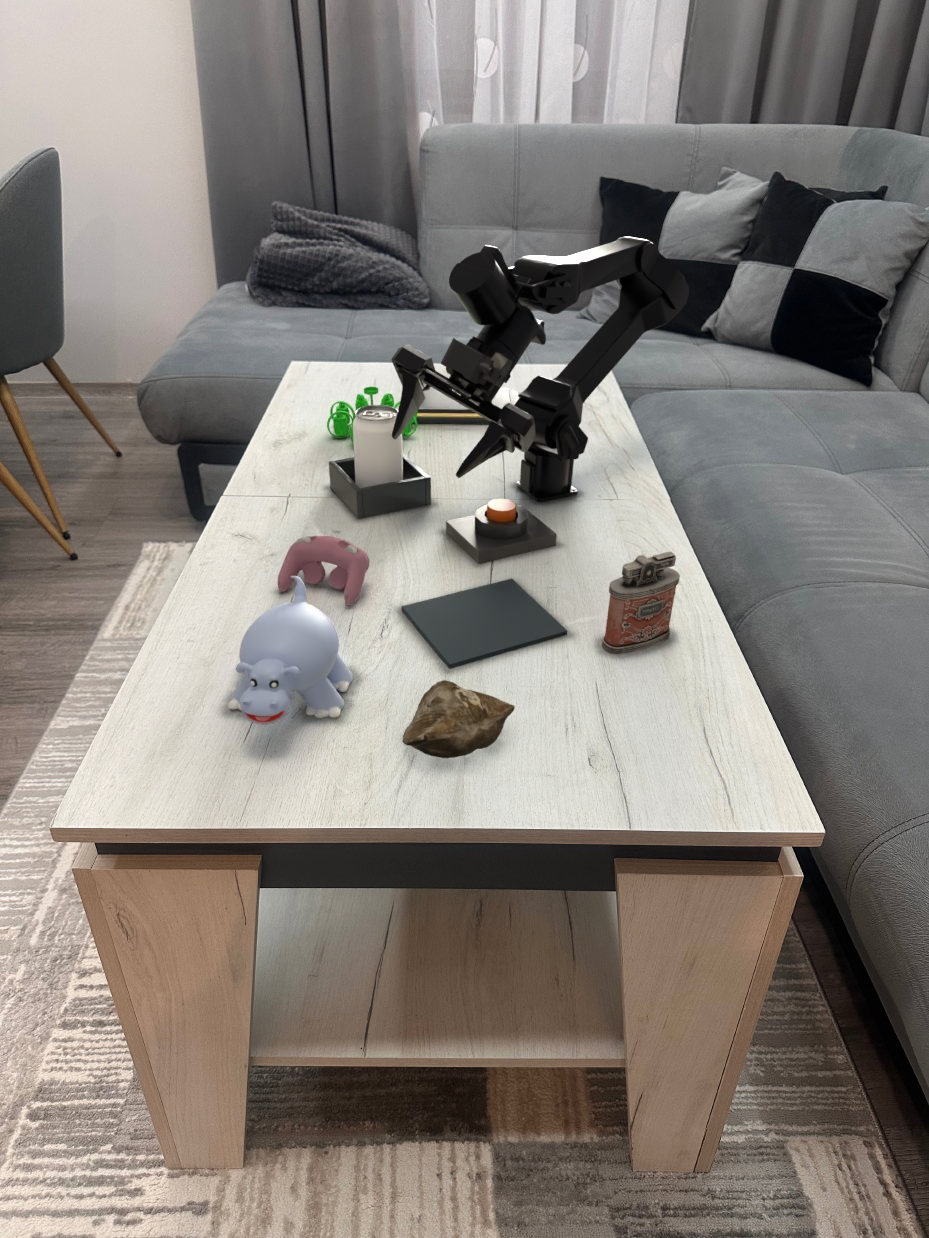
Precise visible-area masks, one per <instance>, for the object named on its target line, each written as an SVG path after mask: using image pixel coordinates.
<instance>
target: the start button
mask: <svg viewBox="0 0 929 1238" xmlns="http://www.w3.org/2000/svg"><path fill="white" fill-rule="evenodd" d="M486 505H487V518H488V519H490V520H493V521H496V522H508V521H512V520H515V518H516V506H517V503H516V502H515V501H513V500H511V499H508V498H493V499H490V500H489V501H488V502H487V504H486Z"/></svg>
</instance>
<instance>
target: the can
mask: <svg viewBox="0 0 929 1238" xmlns="http://www.w3.org/2000/svg"><path fill="white" fill-rule="evenodd" d="M354 412H355V415H356V417H355V419H354V421H353V443H354V444H353V443H352V444H353V457H354V463H355V480H356V485H357V486H358V487H359V488H364V487H369V486H374V485H380V484H385V483H390V482H395V481H401V480H403V453H404V452H403V436H402V433H401V435H400V436H399V437H398V438H397V439H396V440H395V439H393V438H392V432H393V428H394V424H395V421H396V417H397V413H398V409H397V407H396V408H394V407H391V406H386V405H380V404H373V405H371V404H369V405H368V406H364V407H361V408H359V409H357V410H356V409H355V411H354ZM402 452H403V453H402Z"/></svg>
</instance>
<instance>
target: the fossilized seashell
mask: <svg viewBox="0 0 929 1238" xmlns="http://www.w3.org/2000/svg"><path fill="white" fill-rule="evenodd" d="M515 707H516V706H515V705H514V704H510V703H509V702H507V701H504V700H502V699H500V698H498V697H495V696H493V695H490V694H487V693H483V692H480V691H476V690H471V689H467V688H463V687H461V686H460V685H458V684H457V683H455V682H453V681H450V680H445V679H444V680H443V679H442V680H440V681H437V682H436V683H435V684H433V685H431V686H430V688H429V689H428V690H427V691H426V692H424V693H423V696H422V697H421V699H420V701H419V702H418V705H417V709H416V711H415V712H414V713H415V714H414V715H413V717H412V720H411V722H409V724H408V726H407V727H406V728H405V730H404V733H403V734H402V744H404V745H405V746H410V747H412V748H414V749H415V750H417V751H418V752H421V753H422V754H425V755H427V756H430V757H435V758H439V759H440V758H441V759H454V758H458V757H459V758H460V757H465V756H467V755H470V754H472V753H474V752H475V751H477V750H484V749H487V748H489V747H490V746H491V745H493V744H494V743H495V742H496V741H497V740H498V738H499V737H500V735H501V734H502V730H503V728H504V725H505V723H506V720H507V719H508V717H509V716H511V714H512V713H514V711H515Z"/></svg>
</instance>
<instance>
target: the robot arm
mask: <svg viewBox="0 0 929 1238" xmlns="http://www.w3.org/2000/svg"><path fill="white" fill-rule="evenodd" d="M503 255H504V254H503V253H502V251H501V250H500V249H499V247H498V246H492V245H488V244H485V245H483V247H482V248H481V249H480V251H478V252H475V253H472V254H470V255H468V256H466V257H465V258H464V259H462V260H461V261H460V262H457V263H456V264H455V265H454V267H453V268H452V269H451V271H450V273H449V277H448V285H449V288H450V289H451V290H452V292H453V294H454V295H455V296H456V298H457V299H458V301H459V302H460V303H461V305H462V306H463V308H464V309H465V310H466V312H467V313H468V315H469V316H470V317H471V319H472V320H473V322H474V323H475V324H477V325H480V326H482V328H481V330H480V331H479V333H478V334H477V336H473V335H472V337H471V338H470V339H469V340H468V341H467V343H466V344H465V343H464V342H462V341H460V340H458V339H456V338H455V337H453V338H452V340H451V342H450V344H449V345H448V347H447V350H446V352H445V353H444V355H443V357H442V359H441V361H440V364H441V365H442V366H444V367H445V371H446V374H448V375H449V377H448V376H446V375H444V374H443V373H440V372H438V371H437V370H436V368H435V364H434V361H433V358H432V357H431V356H430V355H427V354H426V353H424V352H423V351H420V350H419V349H417V348H415V347H414V346H412V345H410V344H406V345H403V346H400V347H399V348H398V349H397V350H396V352H395V353H394V354H393V356H392V357H391V358H390V361H391V363H392V365H393V367H394V370H395V372H396V374H397V377H398V379H399V381H400V383H401V388H402V389H401V394H400V395H401V397H400V400H399V401H400V404H399V405H400V406H399V405H398V408H399V409H397V410H398V413H397V417H396V421H395V424H394V428H393V432H392V438H393V439H395V440H396V439H397V438H398V437H399V436H400V435H401V433H402V432H403V431H404V430H405V428H406V427H407V425H408V424H409V422H410V421H411V419H412V418H413V416H414V415H415V413H416V412H417V410H418V409H419V407H420V406H421V404H422V403H423V401H424V400H425V396H424V393H423V391H426V390H429V389H430V387H432V388H434V389H435V390H437V391H439V392H441V393H442V394H444V395H446V396H447V397H449V398H451V399H453V400H454V401H456V402H458V403H459V404H461V405H463V406H465V407H466V408H468V409H470V410H471V411H473V412H475V413H477V414H478V415H480V416H482V417H483V418H485V419H487V420H489V421H490V424H488V426H487V428H486V430H485V432H484V434H483V436H482V437H481V438H480V439H479V441H478V442H477V443H476V445H475V446H474V447H473V448H472V450H471V451H470V452H469V453H468V455H467V456H466V457H465V459H463V461H462V462H461V464H460V466H459V468H458V469H457V471H456V472H455V476H456V478H457V479H460V478H462V477H463V476H465V475H466V474H468V473H469V472H471V471H472V470H474V469H476V468H477V467H479V466H480V465H481V464H483V463H484V462H486V461H488V460H490V459H492V458H493V457H496V456H498V455H500V454H502V453H504V452H509V453H511V454H513V453H514V452H515V451H516V449H517V450H519V451H520V452H522V453H523V458H522V459H521V461H520V475H519V480H516V486H517V487H519V488H520V489H521V490H522V491H524V492H525V493H526V494H528V495H529V496H530V497H531V498H533V499H534V500H535V501H537V502H547V501H551V500H556V499H560V498H564V497H570V496H575V495H577V494H578V491H579V490H578V489H577V488H576V487H574V486H573V474H574V463H575V460H578V459H579V457H580V455H583V454H584V453H585V451H586V447H587V444H588V441H589V437H588V435H586V433H585V432H584V431H583V430H582V428H581V427H580V424H581V423H582V416H583V410H584V409H583V408H584V407H583V406H584V403H585V402H586V400H587V399H588V398H589V397H590V396H591V394H593V392H594V391H595V390H596V389H597V388H598V386H599V385H601V383H602V382H603V381H604V379H605V378H606V377H607V376H608V375H609V374H610V372H611V371H612V370H613V369H614V368H615V367H616V366H617V365H618V363H619V362H620V361H621V360H622V359H623V358H624V356H625V355H626V354H627V353H628V352H629V351H630V349H631V348H632V347H633V346H634V345H635V344H636V342H637V341H638V340H639V339H640V338H641V337H642V335H643V334H645V333H647V332H649V331H652V330H654V329H657V328H660V327H662V326H665V325H667V324H668V323H669V322H670V321H671V320H672V319H673V318H674V317H675V316H677V315H678V314H679V313H680V312H681V310H682V309H683V308H684V307H685V305H686V304H687V302H688V299H689V294H690V288H689V285H688V283H687V281H686V278H685V276H684V274H682V272H681V271H680V269H679V268H678V267H677V266H676V265H675V264H674V263H672V262H671V261H670V260H669V259H668V258H666V257H665V256H664V255H663V254H661V252H660V250H659V249H658V247H657V245H656V244H655V243H654V242H652V241H651V240H650V239H645V238H639V237H633V236H623V237H619V238H617V239H616V240H615V241H612V242H608V243H605V244H602V245H599V246H595V247H592V248H589V249H585V250H581V251H579V252H576V253H573V254H569V255H566V256H552V255H551V256H550V255H523V256H522V257H520V258H517V260H515V261H514V262H513V265H512V266H508V265H507V263H506V261H505V259H504V256H503ZM611 282H616V283H617V285H618V287H620V289H619V293H618V294H619V295H618V304H617V308H616V309H615V310H614V312H612V314H610V316H609V318H607V319H606V320H605V322H604V323H603V324H602V325H601V326H600V328H598V330H596V332H595V333H594V334H593V335H592V336H591V337H590V339H589V340H588V341H587V342H586V343H585V344H584V346H583V347H582V348H581V349H580V350H579V351H578V352H577V354H576V355H574V357H573V358H572V359H571V360H570V361H569V362H568V364H567V365H565V367H564V368H563V369H562V370H561V371H560V372H559V374H558V375H557V376H556V377H554V378H548V377H545V376H542V375H537V376H536V377H534V378H532V379H531V381H530V382H529V384H528V385H527V387H526V388H525V389H524V390H523V391H521V392H518V393H519V394H518V397H520V398H519V399H518V400H517V402H516V403H515V405H513V404H511V403H507V404H506V405H504V407H503V408H502V409H501V408H499V407H497V406H496V405H494V404H492V400H493V398H494V397H495V395H496V394H497V392H498V391H499V389H500V388H502V386H503V385H504V384H507V383H508V382H509V380H510V378H511V373H512V372H513V370H514V369H515V367H516V366H517V364H518V362H519V361H520V359H521V358H522V357H523V355H524V353H525V352H526V351H527V349H528V347H529V346H530V345H531V343H534V344H538V345H540V346H544V345H546V342H547V335H546V332H545V321H544V320H540V319H537V318H536V316H535V314H534V313H533V311H532V310H535V311H539V312H542V313H546V314H550V315H559V314H560V313H562V312H564V311H565V310H567V309H568V308H570V307H572V306H573V305H575V304H576V303H578V301H579V298H580V296H581V294H582V293H584V292H586V291H589V290H592V289H595V288H598V287H600V286H603V285H606V284H609V283H611ZM452 389H453V390H454V391H455V392H454V391H452ZM457 393H458V394H457ZM459 394H460V395H459ZM469 400H470V401H469ZM471 401H472V402H471ZM474 403H475V404H474ZM476 404H477V405H476ZM478 405H479V406H478Z"/></svg>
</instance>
